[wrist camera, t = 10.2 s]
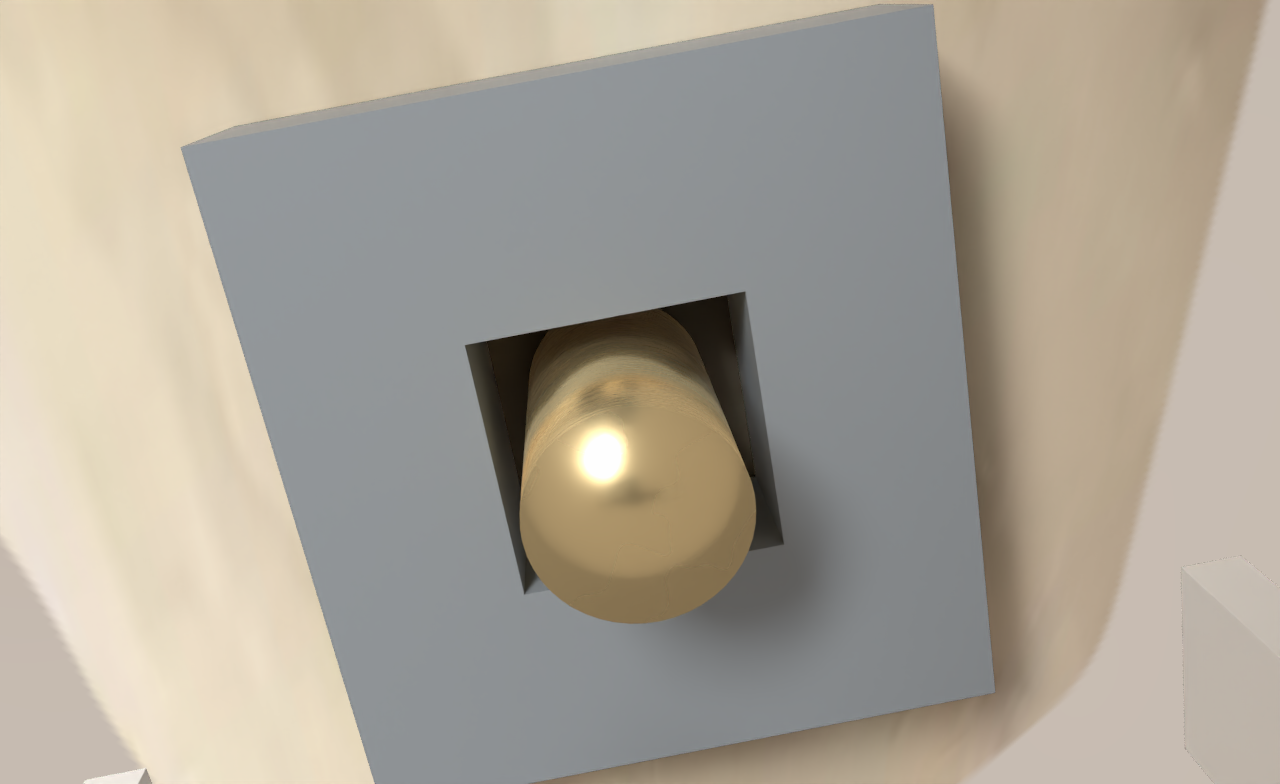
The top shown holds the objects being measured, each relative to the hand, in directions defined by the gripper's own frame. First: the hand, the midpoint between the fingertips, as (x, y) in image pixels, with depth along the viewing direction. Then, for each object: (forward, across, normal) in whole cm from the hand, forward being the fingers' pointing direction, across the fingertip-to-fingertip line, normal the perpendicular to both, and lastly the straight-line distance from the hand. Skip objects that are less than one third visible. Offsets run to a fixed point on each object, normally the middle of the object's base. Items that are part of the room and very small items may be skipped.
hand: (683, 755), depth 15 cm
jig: (+15, 0, 0) cm, 15 cm away
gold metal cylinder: (+15, 0, 0) cm, 15 cm away
